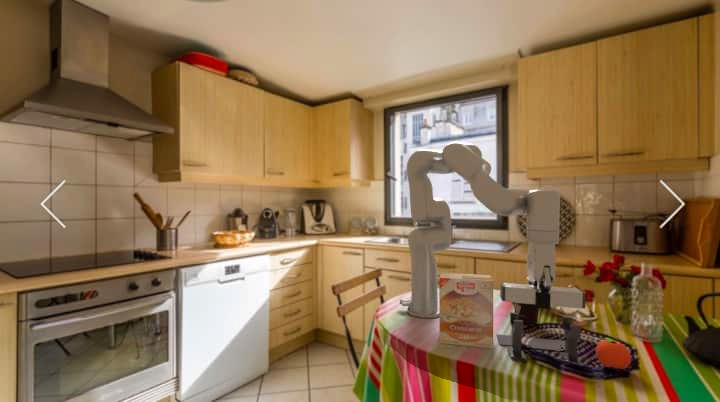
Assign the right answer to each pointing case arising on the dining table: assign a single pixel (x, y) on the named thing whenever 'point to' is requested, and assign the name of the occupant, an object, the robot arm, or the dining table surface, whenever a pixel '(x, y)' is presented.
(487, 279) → the coffeecake box
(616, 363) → the tomato
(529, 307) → the coffee mug
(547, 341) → the flat grey plate
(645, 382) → the dining table surface
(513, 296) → the steel rail
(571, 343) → the right post
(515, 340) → the left post
